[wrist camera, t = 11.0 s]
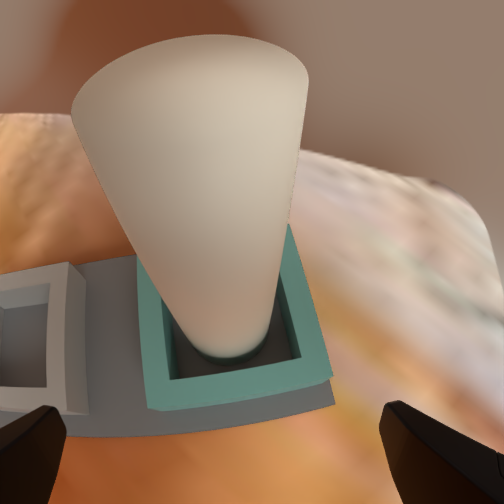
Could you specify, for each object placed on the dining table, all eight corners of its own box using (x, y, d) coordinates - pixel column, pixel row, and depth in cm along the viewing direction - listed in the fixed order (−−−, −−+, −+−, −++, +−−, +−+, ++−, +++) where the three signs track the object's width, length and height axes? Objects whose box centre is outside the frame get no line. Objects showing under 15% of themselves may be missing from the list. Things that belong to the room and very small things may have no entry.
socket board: (-4, 428, 13) (-38, 422, 10) (1, 286, 19) (-25, 264, 16) (330, 405, 16) (349, 400, 13) (285, 238, 21) (290, 204, 18)
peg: (216, 381, 15) (105, 198, 3) (173, 315, 17) (58, 83, 5) (284, 335, 17) (360, 91, 5) (238, 275, 19) (225, 24, 7)
